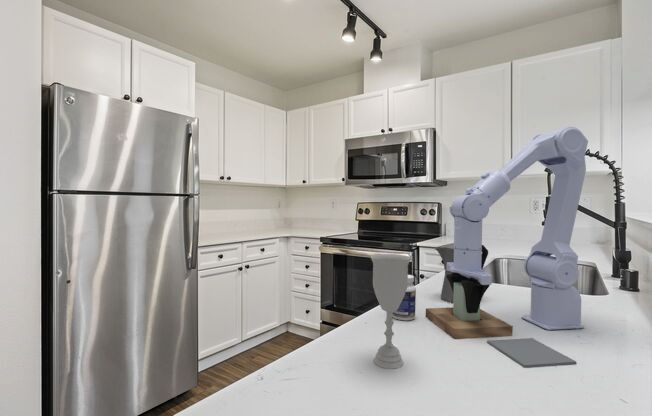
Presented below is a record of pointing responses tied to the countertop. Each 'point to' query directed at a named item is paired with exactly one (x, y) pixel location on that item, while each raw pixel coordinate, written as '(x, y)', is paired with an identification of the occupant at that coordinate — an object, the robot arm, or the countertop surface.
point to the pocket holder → (468, 324)
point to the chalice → (389, 300)
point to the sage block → (462, 305)
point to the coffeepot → (448, 256)
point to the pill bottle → (407, 303)
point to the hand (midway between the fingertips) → (466, 309)
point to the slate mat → (530, 352)
